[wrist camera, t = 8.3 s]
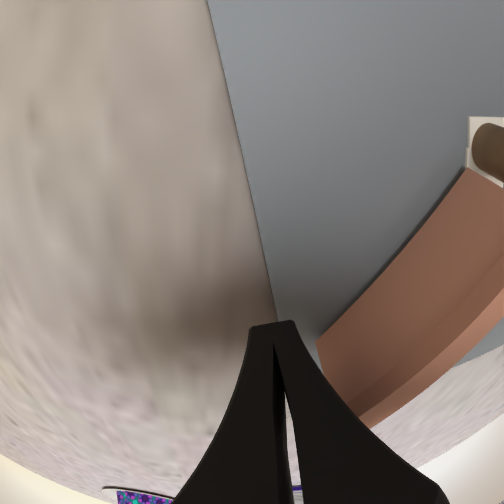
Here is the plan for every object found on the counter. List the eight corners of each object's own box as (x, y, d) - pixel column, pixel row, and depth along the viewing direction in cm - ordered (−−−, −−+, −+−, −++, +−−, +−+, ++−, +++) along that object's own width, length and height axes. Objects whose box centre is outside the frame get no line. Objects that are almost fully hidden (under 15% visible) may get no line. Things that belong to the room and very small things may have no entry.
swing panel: (465, 165, 8) (552, 221, 5) (480, 185, 9) (559, 243, 5) (313, 341, 12) (335, 431, 8) (334, 349, 12) (359, 434, 9)
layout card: (569, 33, 5) (576, 34, 4) (525, 327, 15) (528, 332, 14) (202, -20, 6) (201, -25, 5) (295, 407, 16) (296, 414, 15)
